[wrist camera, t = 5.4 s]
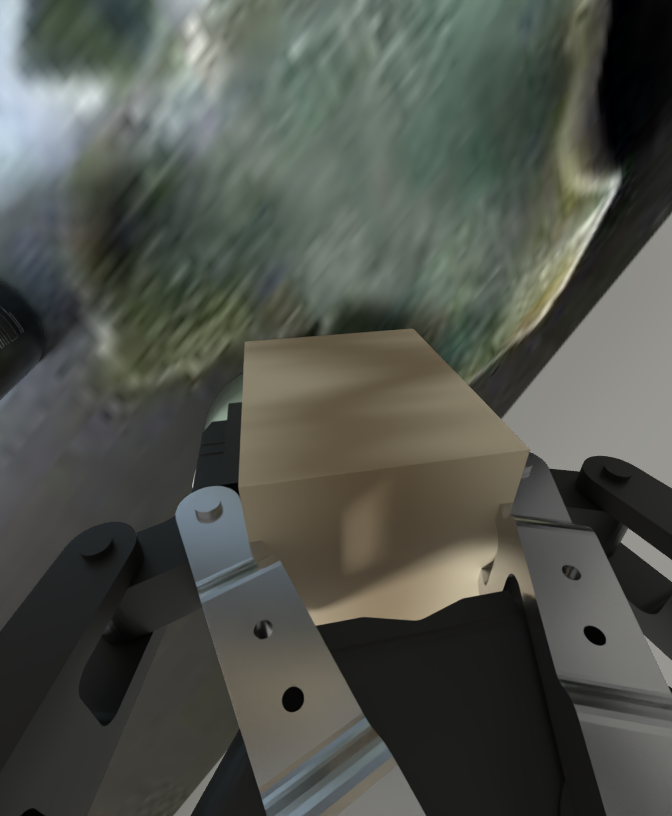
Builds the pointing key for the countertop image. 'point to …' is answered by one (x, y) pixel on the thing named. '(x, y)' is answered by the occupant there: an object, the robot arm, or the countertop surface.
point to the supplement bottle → (17, 339)
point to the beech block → (372, 472)
